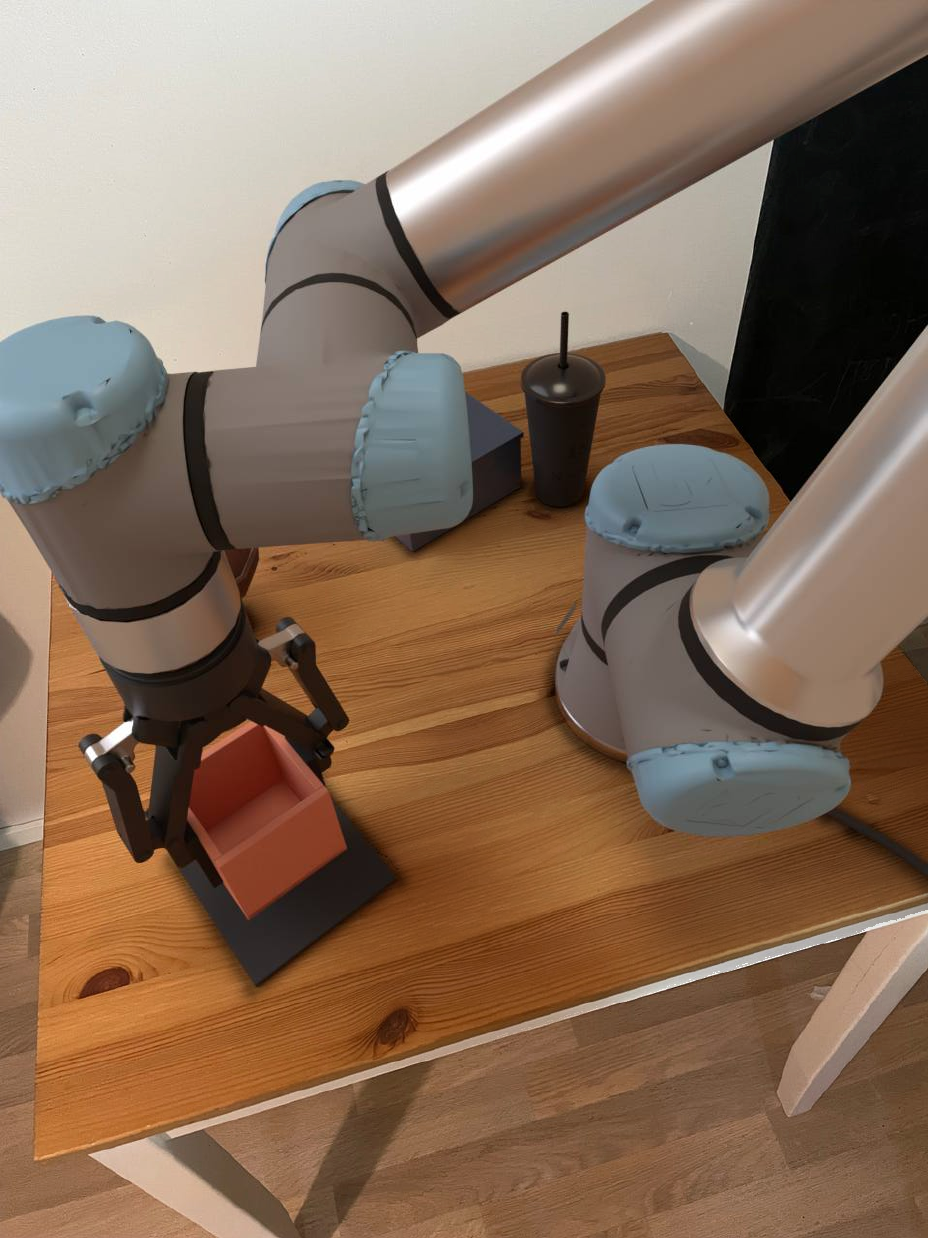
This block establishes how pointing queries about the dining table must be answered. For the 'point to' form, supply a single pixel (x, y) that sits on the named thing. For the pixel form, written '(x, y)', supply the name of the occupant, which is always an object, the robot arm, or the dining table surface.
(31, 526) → the robot arm
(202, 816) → the tub
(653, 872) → the dining table surface
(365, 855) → the mat
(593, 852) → the dining table surface
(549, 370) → the drinking cup
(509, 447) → the tin
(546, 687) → the dining table surface
